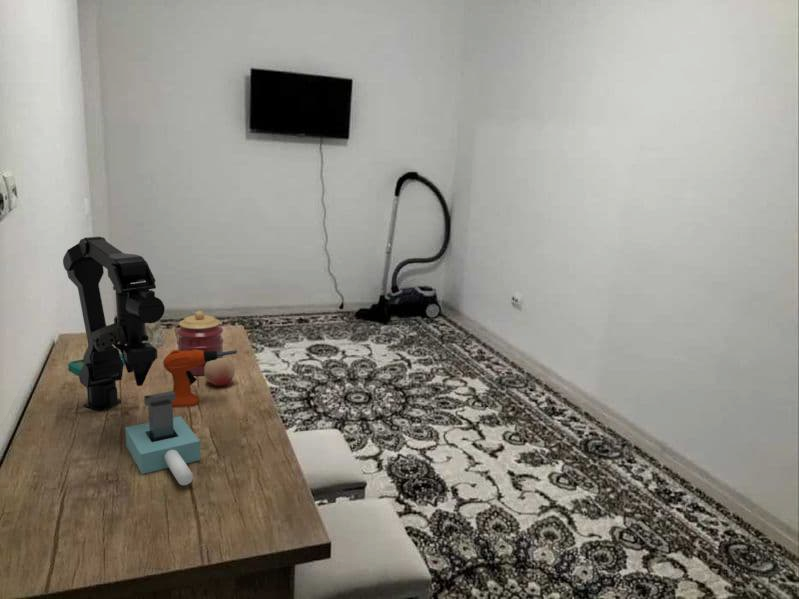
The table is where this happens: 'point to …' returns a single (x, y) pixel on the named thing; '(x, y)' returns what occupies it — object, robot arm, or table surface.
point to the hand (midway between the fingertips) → (134, 378)
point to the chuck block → (164, 450)
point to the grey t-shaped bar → (160, 415)
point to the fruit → (219, 371)
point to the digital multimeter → (81, 365)
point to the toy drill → (187, 372)
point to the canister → (200, 336)
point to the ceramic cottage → (154, 334)
